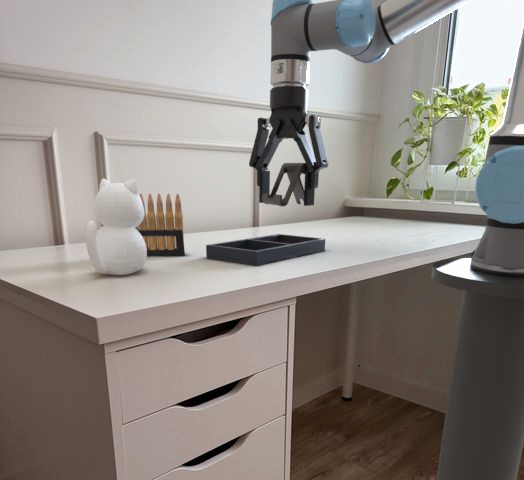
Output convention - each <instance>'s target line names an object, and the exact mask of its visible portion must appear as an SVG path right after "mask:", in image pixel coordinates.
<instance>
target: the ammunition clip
mask: <svg viewBox="0 0 524 480" xmlns="http://www.w3.org/2000/svg"><path fill="white" fill-rule="evenodd" d="M139 196H140V198H141V200H142V203H143V207H144V218H143V221H142V222H141V224H140V225H139V226H138V227H136V228H135V229H137V230H138V232H139V233H140V234H141V235H142V237H143V239H144V241H145V244H146V249H147V257H184V256H186V253H185V252H186V250H185V241H184V240H185V239H184V215H183V211H182V201H181V197H180V194H179V193H176V196H175V201H174V213H173V202H172V198H171V194H170V193H167V194H166V199H165V214H164V203H163V198H162V196H161V194H160V193H158V194H157V197H156V213H155V205H154V203H155V202H154V199H153V197H152V194H151V193H148V195H147V213H146V205H145V199H144V195H143V194H142V193H140V194H139Z"/></svg>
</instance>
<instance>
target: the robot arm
mask: <svg viewBox="0 0 524 480" xmlns="http://www.w3.org/2000/svg"><path fill="white" fill-rule="evenodd" d="M470 1H472V0H386V1H384V2H382V3H381V4H380V5H378V6H377V7H375V6H374V3H373V1H372V0H328V1H323V2H317V3H313V0H272V5H271V6H272V7H271V19H270V28H271V29H270V30H271V31H270V33H271V35H270V39H271V42H270V81H269V82H270V83H269V84H270V86H272V87H271V89H270V90H269V108H270V111H271V113H270V116H269V117H258V118H257V131H256V134H255V138H254V142H253V146H252V150H251V154H250V158H249V161H248V166H249V167H250V168H253V169H254V170H256V185H257V187H259V189H258V203H259V204H264V203H263V202H262V193H267V194H271V191H270V190H271V189H270V188H271V186H270V185H271V171H270V170H269V168H268V167H269V165H270V163H271V161H272V159H273V157H274V155H275V153H276V151H277V149H278V147H279V145H280V144H281V143H282V142H283V140H287V139H292V140H294V142H296V145H297V148H298V149H299V152H300V153H301V156H302V158H303V160H304V163H306V164H307V167H308V170H307V171H310V172H305V174H304V186H303V188H304V202H303V206H304V207H308V206H309V207H310V206H315V194H316V193H315V191H316V189H318V187H319V177H320V176H319V174H320V171H321V170H324V169H327V168H328V167H329V162H328V158H327V152H326V147H325V143H324V139H323V134H322V130H321V124H322V123H321V122H322V118H321V116H320V115H316V114H310V115H308V114H307V113H308V112H307V109H308V108H309V107H308V106H309V90H308V88H306V87H308V86H309V84H310V57H311V52H318V51H328V50H335V51H338V52H340V53H342V54H345V55H347V56H349V57H351V58H353V59H354V60H356V61H357V62H361V63H363V64H375V63H378V62H380V61H381V60H382V59H383V58H384V57H385V56H386V55H387V53H388V51H389V49H390V48H392V47H394V46H395V45H396V44H398V43H400V42H402V41H403V40H405V39H407V38H409V37H410V36H411V35H413V34H414V35H415V34H416V33H417V32H419V31H421V30H422V29H424V28H426V27H428V26H429V25H431V24H433V23H434V22H436V21H438V20H439V19H441V18H443V17H445V16H446V15H448V14H450V13H452V12H453V11H455V10H457V9H459V8H460V7H462V6H464V5H465V4H467V3H469V2H470ZM306 126H307V127H308V133H309V138H310V141H309V140H308V135H307V132H306V130H305V127H306ZM271 128H272V129H271ZM270 129H271V131H270ZM310 142H311V145H310ZM475 197H476V201H477V203H478V205H479V207H480V209H481V210H482V211H483V213H485V214H486V215H487V217H486V223H485V229H484V232H483V234H482V236H481V238H480V240H479V242H478V244H477V246H476V248H475V249H474V250H473V251H472V253H471V254H470V257H471V258H472V259H471V264H470V268H471V269H472V270H475V271H478V272H481V273H486V274H491V275H498V276H506V277H519V278H524V21H523V23H522V27H521V31H520V37H519V42H518V47H517V51H516V56H515V61H514V66H513V70H512V76H511V81H510V86H509V91H508V96H507V100H506V105H505V109H504V115H503V120H502V123H501V125H499V127H497V128H496V129H495V130H494V131H493V132H491V133H490V135H489V139H488V144H487V149H486V153H485V159H484V162H483V165H482V167H481V168H480V170H479V172H478V174H477V176H476V180H475Z"/></svg>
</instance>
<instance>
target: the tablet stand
mask: <svg viewBox="0 0 524 480" xmlns="http://www.w3.org/2000/svg"><path fill="white" fill-rule="evenodd" d="M307 170H308V167H307V164H306V162H283V163H282V164H281V167H280V170H279V172H278V174H277V177H276V179H275V182H274V184H273V187H272V190H271V191H270V194H267V193H262V202H263V203H262V204H265V205H271V206H278V207H286V206H288V204H289V202H290V199H291V197H292V194H293V196H294V199H295V202H296V204H297V205H302V202H303V203H304V186H303V185H304V184H303V182H302V179H301V175H305V172H310V171H307ZM285 174H286V175H287V178H288V181H289V185H288V187H287V190H286V192H285V195H284V197H283V195H282V194H277V193H278V190H279V187H280V185H281V182H282V180H283V177H284V175H285ZM301 200H302V202H301Z"/></svg>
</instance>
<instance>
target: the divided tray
mask: <svg viewBox="0 0 524 480" xmlns="http://www.w3.org/2000/svg"><path fill="white" fill-rule="evenodd" d="M325 251H326V238H324V237H323V238H322V237H312V236H301V235H292V234H284V233H283V234H282V233H276V234H269V235H263V236H256V237H249V238H243V239H236V240H230V241H223V242H216V243H210V244H206V245H205V253H206V254H205V255H206V256H205V257H206V259H210V260H215V261H223V262H228V263H235V264H236V263H237V264H242V265H250V266H256V267H257V266H261V265H266V264H271V263H275V262H279V261H284V260H289V259H294V258H298V257H303V256H308V255H312V254H316V253H320V252H325Z"/></svg>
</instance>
